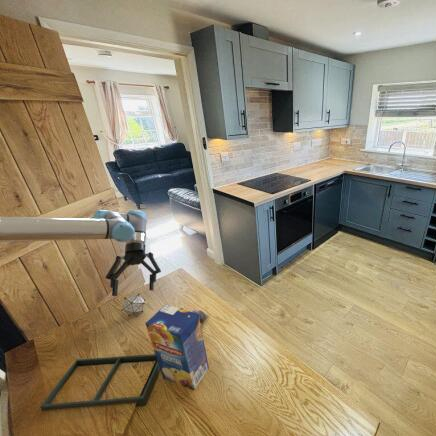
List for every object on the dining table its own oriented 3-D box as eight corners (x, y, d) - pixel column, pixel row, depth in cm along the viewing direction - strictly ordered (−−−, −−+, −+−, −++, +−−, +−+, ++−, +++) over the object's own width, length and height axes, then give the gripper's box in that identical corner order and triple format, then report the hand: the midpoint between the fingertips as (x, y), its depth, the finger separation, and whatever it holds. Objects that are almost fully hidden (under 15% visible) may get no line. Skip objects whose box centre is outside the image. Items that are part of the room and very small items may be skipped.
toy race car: (178, 310, 101) (175, 298, 98) (207, 321, 96) (205, 308, 94) (159, 327, 93) (156, 315, 90) (190, 340, 88) (187, 327, 85)
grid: (45, 414, 66) (39, 407, 64) (80, 366, 78) (76, 359, 77) (145, 405, 68) (143, 398, 67) (164, 360, 81) (162, 353, 79)
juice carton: (209, 367, 79) (198, 314, 69) (194, 390, 72) (180, 334, 62) (179, 357, 82) (165, 304, 72) (162, 378, 75) (144, 323, 66)
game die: (140, 320, 100) (135, 316, 92) (120, 314, 99) (112, 310, 91) (152, 299, 105) (148, 294, 97) (132, 294, 104) (127, 288, 96)
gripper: (168, 243, 112) (168, 288, 105) (107, 249, 106) (103, 298, 99) (163, 238, 106) (163, 287, 98) (98, 245, 99) (93, 297, 92)
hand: (133, 293), depth 99 cm, fingers open, 13 cm apart
